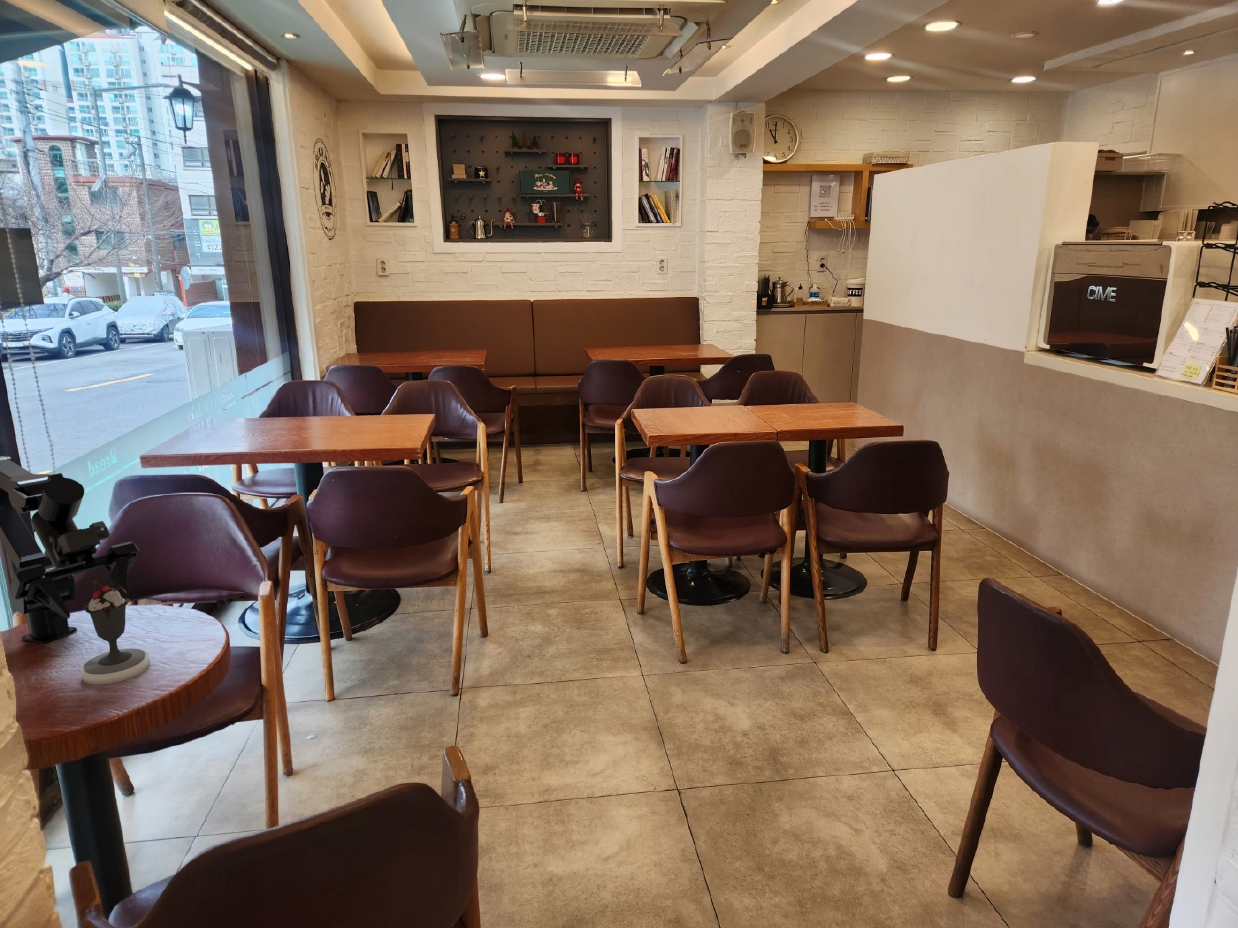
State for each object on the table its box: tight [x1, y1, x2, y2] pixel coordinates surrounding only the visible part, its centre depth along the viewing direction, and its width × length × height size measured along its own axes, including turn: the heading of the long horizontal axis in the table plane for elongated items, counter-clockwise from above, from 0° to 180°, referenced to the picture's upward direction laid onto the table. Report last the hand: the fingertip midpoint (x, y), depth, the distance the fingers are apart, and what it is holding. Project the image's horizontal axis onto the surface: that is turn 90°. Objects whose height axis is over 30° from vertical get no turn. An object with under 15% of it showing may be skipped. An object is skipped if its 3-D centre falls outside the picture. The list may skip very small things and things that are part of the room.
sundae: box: [83, 580, 132, 665], centre depth 134 cm, size 7×7×15 cm
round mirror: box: [80, 648, 151, 686], centre depth 135 cm, size 10×10×2 cm
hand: (98, 608), depth 135 cm, fingers open, 9 cm apart
